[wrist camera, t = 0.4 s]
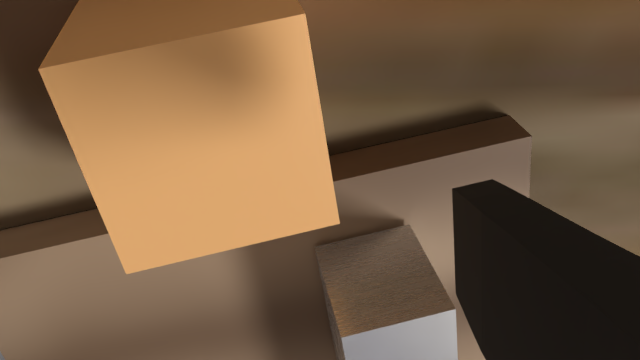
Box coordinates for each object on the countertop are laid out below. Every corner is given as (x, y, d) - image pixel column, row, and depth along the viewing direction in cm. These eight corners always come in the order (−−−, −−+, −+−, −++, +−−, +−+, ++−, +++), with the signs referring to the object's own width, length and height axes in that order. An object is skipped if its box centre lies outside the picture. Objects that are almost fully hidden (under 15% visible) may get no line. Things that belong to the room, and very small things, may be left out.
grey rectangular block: (422, 374, 22) (462, 468, 19) (343, 395, 22) (370, 493, 19) (409, 224, 18) (455, 309, 15) (314, 246, 18) (341, 338, 15)
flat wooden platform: (503, 350, 25) (553, 433, 22) (17, 477, 23) (-11, 586, 20) (509, 115, 19) (577, 178, 16) (-139, 262, 18) (-217, 367, 14)
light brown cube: (304, 129, 18) (340, 223, 14) (140, 166, 18) (126, 274, 14) (273, -40, 16) (305, 13, 11) (79, -1, 15) (37, 69, 11)
